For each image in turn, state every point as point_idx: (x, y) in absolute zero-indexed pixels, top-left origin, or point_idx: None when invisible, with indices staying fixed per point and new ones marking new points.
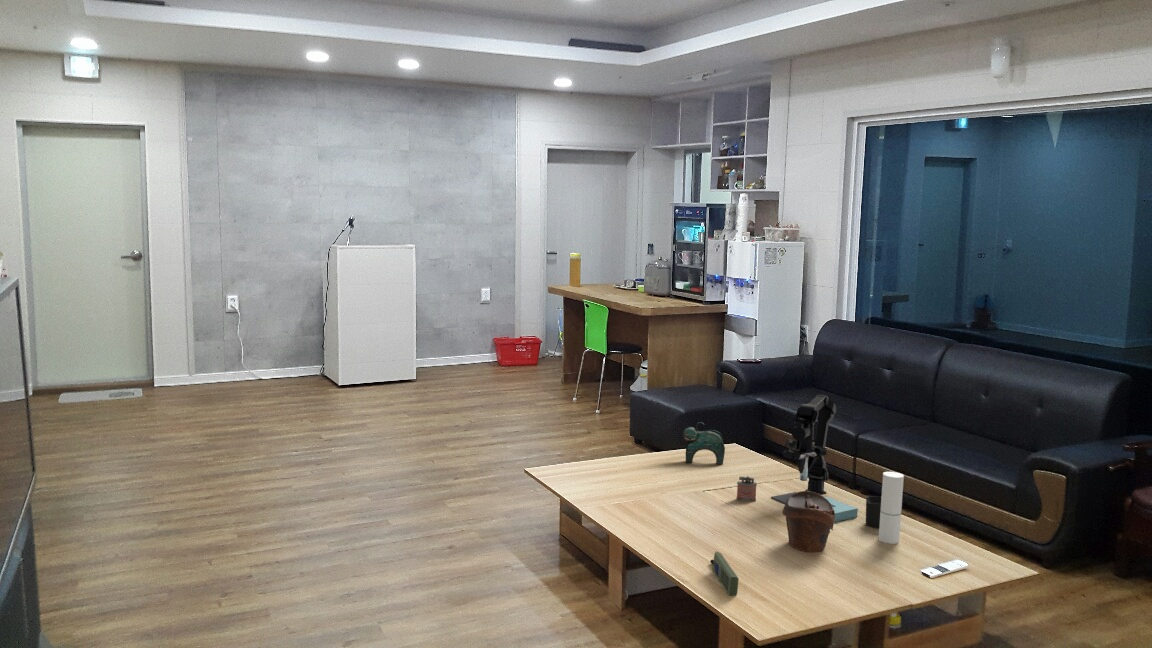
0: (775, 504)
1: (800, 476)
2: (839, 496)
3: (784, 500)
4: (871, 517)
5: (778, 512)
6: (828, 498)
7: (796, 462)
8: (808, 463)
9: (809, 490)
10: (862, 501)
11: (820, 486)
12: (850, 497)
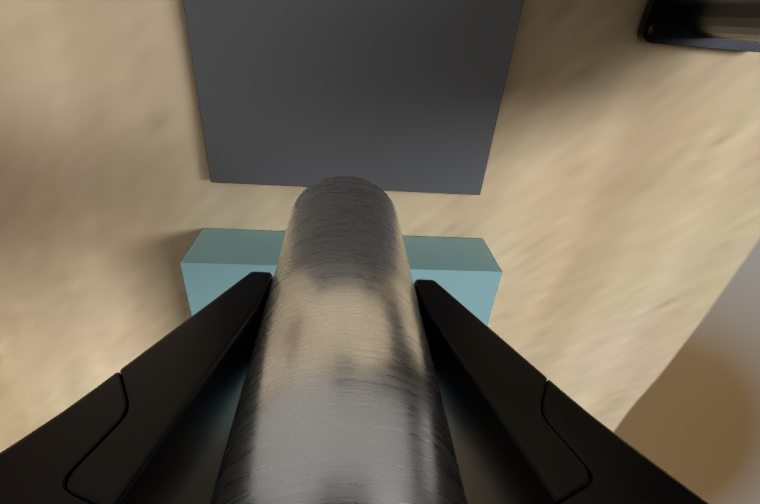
0: (94, 9)
1: (284, 239)
2: (732, 162)
3: (227, 2)
4: None
5: (19, 180)
6: (469, 300)
7: (5, 453)
8: (466, 485)
9: None
10: (711, 294)
11: (756, 40)
12: (753, 214)
